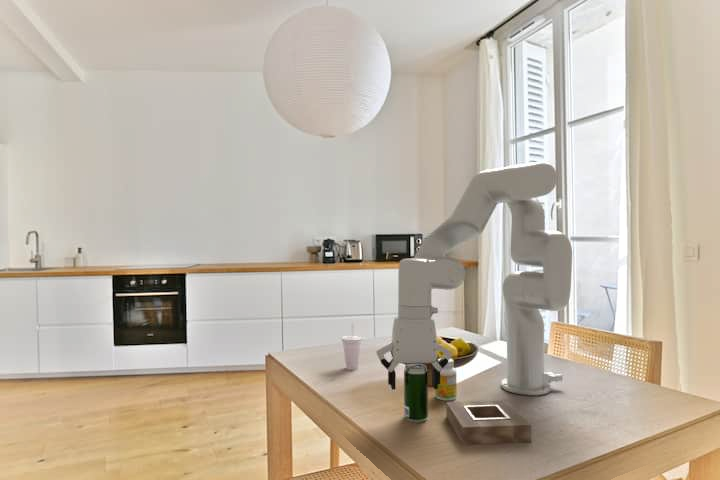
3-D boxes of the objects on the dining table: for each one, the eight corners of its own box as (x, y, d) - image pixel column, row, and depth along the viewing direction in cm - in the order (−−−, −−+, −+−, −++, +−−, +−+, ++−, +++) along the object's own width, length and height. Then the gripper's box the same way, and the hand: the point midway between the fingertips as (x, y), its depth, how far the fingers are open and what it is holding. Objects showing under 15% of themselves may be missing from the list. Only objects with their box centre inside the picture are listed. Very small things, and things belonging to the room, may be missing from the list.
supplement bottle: (431, 395, 124) (431, 358, 124) (448, 392, 126) (448, 356, 126) (442, 402, 119) (442, 363, 119) (460, 399, 121) (460, 361, 121)
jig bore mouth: (497, 405, 107) (497, 404, 107) (510, 419, 99) (510, 418, 99) (463, 406, 106) (463, 405, 106) (473, 420, 99) (473, 419, 99)
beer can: (414, 425, 105) (414, 371, 105) (399, 417, 110) (399, 365, 110) (432, 419, 108) (432, 367, 108) (417, 412, 113) (417, 361, 112)
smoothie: (366, 367, 150) (365, 323, 150) (355, 372, 145) (354, 326, 144) (349, 364, 154) (348, 321, 153) (337, 369, 148) (337, 324, 148)
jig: (506, 415, 110) (506, 400, 110) (531, 442, 96) (531, 424, 96) (446, 417, 109) (446, 402, 109) (463, 444, 95) (462, 427, 95)
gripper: (448, 310, 113) (447, 382, 113) (375, 310, 112) (374, 382, 112) (456, 315, 105) (455, 392, 105) (378, 315, 104) (377, 393, 104)
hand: (413, 387), depth 109 cm, fingers open, 9 cm apart
